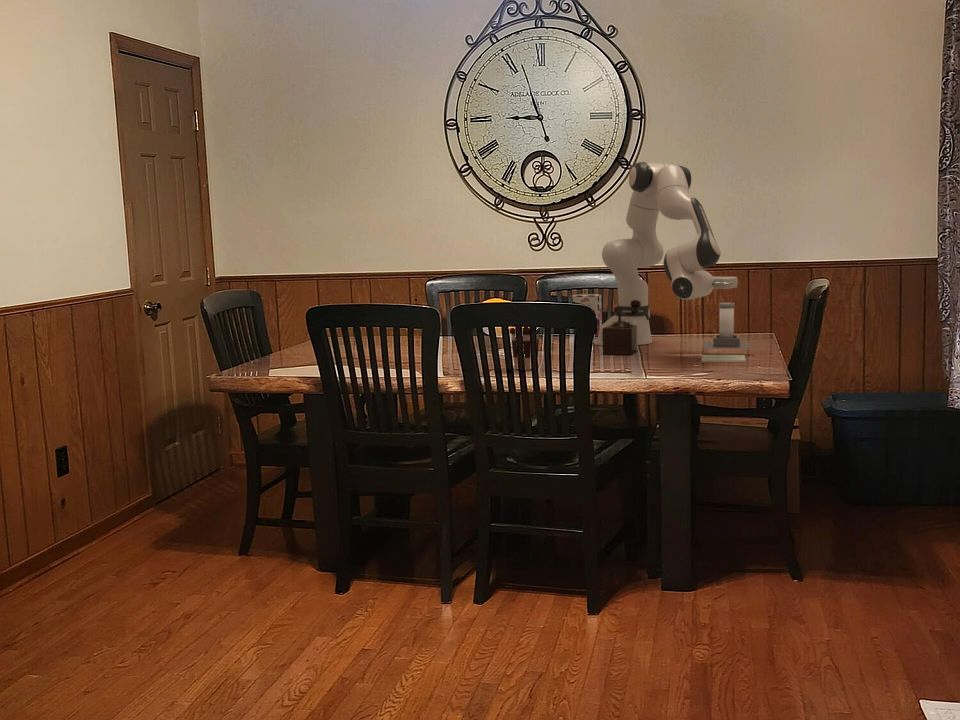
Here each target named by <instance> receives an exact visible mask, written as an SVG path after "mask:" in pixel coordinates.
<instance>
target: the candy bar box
mask: <svg viewBox="0 0 960 720" xmlns="http://www.w3.org/2000/svg"><path fill="white" fill-rule="evenodd" d="M572 302H575V303H581V304H585V305H589V306H591V307H592V308H593V310H594V311H595V314H596V318H597V333H596V336H595V337H598V333H599V329H600V327H601V325H603V318H602V317H603V313H602V308H603V307H602V294H601V293H600V294H597V293H596V294H593V293H592V294H589V293H588V294H573V295H572V296H571V303H572Z"/></svg>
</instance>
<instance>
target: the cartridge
mask: <svg viewBox="0 0 960 720" xmlns="http://www.w3.org/2000/svg"><path fill="white" fill-rule="evenodd" d="M718 309H719V312H718V313H719V314H718V315H719V323H718V324H719V325H718V326H719V329H718V333H719V334H718V335H719V338H734V335H735V325H734V324H735V317H734V316H735V302H729V301H727V302H719V303H718Z"/></svg>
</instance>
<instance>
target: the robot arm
mask: <svg viewBox="0 0 960 720" xmlns="http://www.w3.org/2000/svg"><path fill="white" fill-rule="evenodd" d="M628 185H629V187H630V188H631V190H632V194H631V196H630V200H629V205H628V209H627V213H626V217H625V221H626V222H625V223H626V224H627V226H628V227H629V228H630V229H631V230H632V237H631V238H622V239H621V238H620V239H615V240H612V241H609V242H607V243H606V244H605V245H604V246H603V248H602V251H601V257H602V262H603V263H604V265H605V266H606V267H607V268H609V270H610V271H611V272H612V274H613V275H614V277H615V281H616V285H617V293H618V294H617V297H618V299H617V300H618V304H617V305H616V304H615V305H613V307H612V316H611V317H610V318H608V319H607V320H606V321H605V322H604V323H602V325H601V327H600V329H599V333H598V336H597V338H594V339H595V340H594V339H593V340H594V344H593V345H595V346H603V331H602V329H603V328H605V327H607V326H609V325H611V324H613V323H614V322H618V312H617V310H618V309H617V307H618V306H620V307H621V312H624V313H631V311H632V307H631V305H630V303H631V301H633V300H638V301H640V302H641V306H640V307H639V309H638V310H639V313H636V314H631V315H622V314H621V321H625V322H627V323H628V322H629V321H630V322H629V324H630V325H637V346H643V345H648V344H652V343H653V342H654V340H653V338H652V333H651V327H650V319H651V312H650V311H651V309H650V304H649V285H648V283H647V282H646V281H645V280H644V279H642V278H641V277H640V275H639V273H638V268H639V269H641V268H649V267H652V266H654V265H657V264H659V263H660V262H662V260H663V269H664V272H665V274H666V277H667V278H668V280H669V281H670V282H671V283H670V284H671V291H672V293H673V294H674V295H675V296H676V297H677V298H678V299H681V300H685V301H687V300H688V301H689V300H696V299H699V298H703V297H706V296H708V295H710V294H711V293H712V291H714V289H715V290H728V289H735V288H738V282H739V279H738V277H737V276H719V275H718V276H713V275H712V274H711V273H710V272H708V271H707V270H703V269H706V268H708V267H712V266H715V265H717V263H718V261H719V260H720V257H721V249H720V246H719V244H718V242H717V240H716V238H715V236H714V233H713V230H712V229H711V225H710V222H709V220H708V217H707V214H706V213H705V210H704V207H703V205H702V204H701V202H700V201H699V200H698V199H697V198H696V197H692V196H691V194H690V188H691V185H692V174H691V171H690V169H689V168H688V167H686V166H683V165H677V164H670V163H666V162H665V163H664V162H659V163H658V162H646V161H641V162H640V161H639V162H635V163H634V164H633V165H632V167H631V168H630V171H629V174H628ZM659 213H661V214H662V216H664V217H665V218H668V219H670V220H676V221H682V220H690V221H692V222H693V226H694V228H695V231H696V234H697V236H696V237H695V238H694V239H692V240H691V241H688V242H686V243H683V244H681V245H677V246H675V247H673V248H670V249H669V250H667V251H666V253H665V255H664V251H665V250H664V246H663V244H662V242H661V241H660V240H659V238H658V235H657V223H658V217H659ZM663 256H664V258H663Z"/></svg>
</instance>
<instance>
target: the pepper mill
mask: <svg viewBox="0 0 960 720" xmlns="http://www.w3.org/2000/svg"><path fill="white" fill-rule="evenodd" d="M630 305H631V307H632V311H631V313H624V312H621V307H620V306H618V305H617V306H618V307H617V309H618V310H617V312H618V322H614V323H613V324H611V325H609V326H607V327H605V328H603V329H602V331H603V345H602V355H605V356H606V355H608V356H612V355H613V356H632V355H634V354H636V353H637V352H638V345H637V325H630V324H629V322H630V321H629V322H628V323H627V322H625V321H621V314H622V315H631V314H636V313H639V310H638V309H639V307H640V306H641V302H640V301H638V300H633V301H631V303H630Z"/></svg>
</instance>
